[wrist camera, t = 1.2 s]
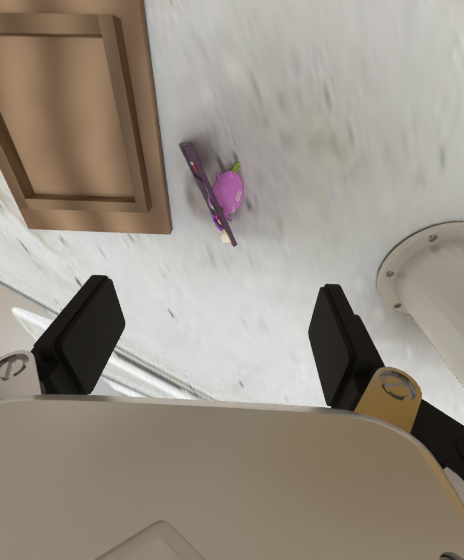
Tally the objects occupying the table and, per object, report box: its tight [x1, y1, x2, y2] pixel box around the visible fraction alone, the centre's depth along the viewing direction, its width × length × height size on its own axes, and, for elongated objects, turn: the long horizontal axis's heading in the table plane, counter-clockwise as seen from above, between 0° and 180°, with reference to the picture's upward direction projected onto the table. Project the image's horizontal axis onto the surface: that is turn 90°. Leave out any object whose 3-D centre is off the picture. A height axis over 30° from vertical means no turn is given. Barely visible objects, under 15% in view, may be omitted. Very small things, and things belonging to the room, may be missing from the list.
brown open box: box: [0, 0, 172, 234], centre depth 23 cm, size 16×20×3 cm
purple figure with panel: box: [179, 143, 244, 247], centre depth 24 cm, size 7×5×9 cm
